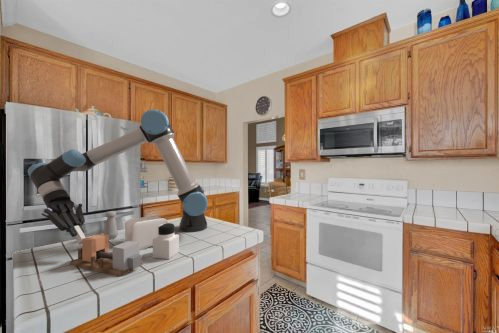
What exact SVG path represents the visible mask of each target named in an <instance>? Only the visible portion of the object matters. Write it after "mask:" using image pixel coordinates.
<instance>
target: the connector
mask: <svg viewBox="0 0 499 333" xmlns="http://www.w3.org/2000/svg"><path fill="white" fill-rule="evenodd" d="M112 254H113V268H114V269H119V270H123V271H124V270H126V269H128V268H135V267H137V266H138V267H140V266H142V265H141V260H142V254H140V250H139V242H133V241H127V242H122V243H119V244H117V245H114V246H112ZM139 265H140V266H139ZM138 267H137V268H138ZM135 269H136V268H135Z"/></svg>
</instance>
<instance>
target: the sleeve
mask: <svg viewBox="0 0 499 333" xmlns="http://www.w3.org/2000/svg"><path fill="white" fill-rule="evenodd" d="M109 241H110V240H109V235H105V234H104V233H97V234H93V235H91V236H86V238H83V239H82V245H81V246H82V247H81V248H82V261H87V262H91V257H92V256H95V261H96V251H101V252H106V253H110V251H109V248H110V247H109V246H110V245H109Z"/></svg>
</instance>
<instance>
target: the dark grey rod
mask: <svg viewBox="0 0 499 333" xmlns="http://www.w3.org/2000/svg"><path fill="white" fill-rule="evenodd" d="M96 256H97V257H102V258H107V259H112V260H113V253H112V252H109V253H106V252H101V251H96Z"/></svg>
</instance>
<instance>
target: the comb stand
mask: <svg viewBox="0 0 499 333" xmlns="http://www.w3.org/2000/svg"><path fill="white" fill-rule="evenodd" d="M69 262H70V264H69V265H70V266H74V267H78V268H82V269H87V270H91V271H95V272H99V273H103V274H107V275H111V276H116V277H122V276H125V274H127V273H130V272H131V271H133V270H134V269H136V268H139V267H140V266H143V265H144V260H142V259H141V265H139V266H137V267H135V268H128V269H126V270H124V271H123V270H119V269H114V268H113V260H112V259H107V258H102V257H97V256H96V261H95V256H92V257H91V262H87V261H82V247H81V248H78V249H77V258H76V259H74V260H70V261H69Z"/></svg>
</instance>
